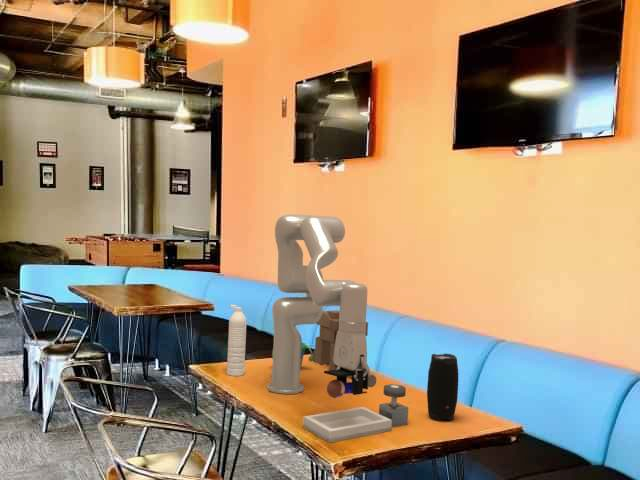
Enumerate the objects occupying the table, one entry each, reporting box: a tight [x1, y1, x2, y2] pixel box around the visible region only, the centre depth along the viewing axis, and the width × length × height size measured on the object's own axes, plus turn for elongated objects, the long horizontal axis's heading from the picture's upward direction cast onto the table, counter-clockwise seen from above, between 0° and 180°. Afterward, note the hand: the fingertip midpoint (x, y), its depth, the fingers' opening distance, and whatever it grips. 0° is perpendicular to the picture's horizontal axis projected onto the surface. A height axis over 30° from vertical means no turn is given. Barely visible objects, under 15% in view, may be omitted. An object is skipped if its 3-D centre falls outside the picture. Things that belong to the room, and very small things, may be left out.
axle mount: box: [378, 401, 409, 428], centre depth 176 cm, size 6×6×5 cm
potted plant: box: [271, 342, 313, 370], centre depth 233 cm, size 16×10×10 cm
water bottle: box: [226, 304, 247, 377], centre depth 223 cm, size 9×6×25 cm
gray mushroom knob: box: [382, 383, 407, 408], centre depth 176 cm, size 6×6×7 cm
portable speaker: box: [426, 353, 459, 422], centre depth 182 cm, size 8×9×19 cm
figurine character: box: [323, 369, 377, 399], centre depth 168 cm, size 7×8×15 cm
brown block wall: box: [308, 309, 371, 380], centre depth 235 cm, size 40×9×23 cm, turn 32°
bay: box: [302, 406, 393, 444], centre depth 168 cm, size 13×21×3 cm, turn 123°
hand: (349, 390), depth 168 cm, fingers closed on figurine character, 6 cm apart
